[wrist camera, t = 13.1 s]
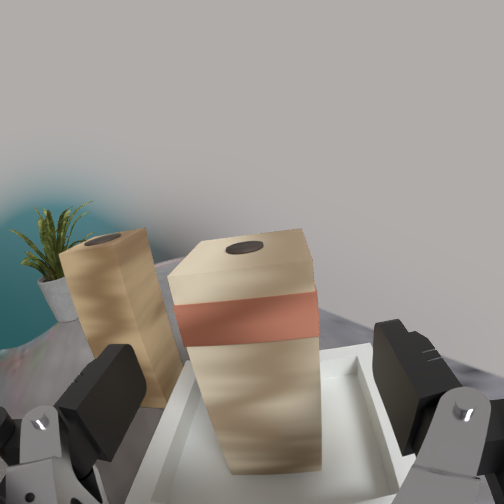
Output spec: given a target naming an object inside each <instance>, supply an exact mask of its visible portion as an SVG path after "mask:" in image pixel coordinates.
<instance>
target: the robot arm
mask: <svg viewBox="0 0 504 504" xmlns="http://www.w3.org/2000/svg"><path fill="white" fill-rule="evenodd" d="M372 371H373V377H374V381H375V384H376V386H377V389H378V391H379V394H380V396H381V399H382V402H383V404H384V407H385V410H386V412H387V415H388V418H389V421H390V423H391V426H392V429H393V432H394V435H395V437H396V440H397V443H398V446H399V449H400V452H401V455H402V457H404V456H407V455H411V454H415V456H416V460H415V462H414V464H413V465H412V466H411V468H410V470H409V472H408V474H407V476H406V478H405V480H404V482H403V483H402V485H401V487H400V489H399V491H398V493H397V494H396V496H395V498H394V500H393V501H392V503H391V504H474V503H475V500H476V497H477V494H478V491H479V487H480V478H478V477H476V476H479V475H485V477H486V480H487V482H488V485H489V487H490V490H491V493H492V496H493V498H494V501H495V504H504V399H499V400H489V399H488V398H487V396H486V395H485V394H484V393H482V392H481V391H479V390H477V389H474V388H470V387H462V385H461V384H460V382H459V381H458V379H457V378H456V376H455V375H454V374H453V372H452V371H451V369H450V368H449V367H448V365H447V364H446V362H445V361H444V360H443V358H441V356H440V354H439V353H438V351H437V350H435V347H434V346H433V345H432V343H431V342H430V341H429V340H428V338H426V337H425V336H423V335H421V334H419V333H418V332H416V331H414V332H408V331H407V329H406V328H405V327H404V325H403V324H402V322H401V321H400V320H399V319H395V320H389V321H384V322H378V323H376V324H375V327H374V341H373V358H372ZM146 390H147V385H146V379H145V377H144V374H143V372H142V369H141V367H140V364H139V362H138V359H137V357H136V354H135V351H134V349H133V347H132V346H131V345H130V344H109V345H108V346H107V347H106V348H105V349H104V350H103V351H102V353H101V354H100V355H99V356H98V357H97V358H96V359H95V360H93V361H92V362H90V363H89V364H88V365H87V366H86V367H85V368H84V369H83V370H82V372H81V373H80V375H78V376H77V378H76V379H75V380H74V382H73V383H72V384H71V385H70V386H69V387H68V389H67V390H66V391H65V392H64V394H63V395H62V396H61V397H60V398H59V400H58V401H57V402H56V403H55V405H54V406H49V405H42V406H38V407H36V408H34V409H32V410H30V411H29V412H28V413H27V414H26V415H25V416H24V418H23V419H11V417H10V416H9V414H8V413H7V411H6V410H5V408H3V407H0V456H1V458H2V459H3V460H4V461H5V462H6V463H7V465H8V467H7V469H6V475H5V477H4V478H3V480H2V481H1V483H0V504H109V502H108V499H107V496H106V493H105V490H104V487H103V484H102V480H101V477H100V474H99V470H98V468H97V466H96V465H95V464H94V463H95V462H96V460H97V459H100V460H104V461H108V462H111V461H112V459H113V457H114V455H115V453H116V451H117V449H118V447H119V445H120V443H121V441H122V439H123V437H124V436H125V434H126V432H127V430H128V428H129V426H130V424H131V422H132V420H133V418H134V416H135V414H136V412H137V410H138V408H139V407H140V405H141V403H142V401H143V399H144V397H145V395H146Z"/></svg>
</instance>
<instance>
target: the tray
mask: <svg viewBox="0 0 504 504" xmlns="http://www.w3.org/2000/svg"><path fill="white" fill-rule="evenodd" d="M319 356H320V379H321V415H322V471H314V472H303V473H291V474H272V475H232V474H231V472H230V469H229V467H228V464H227V462H226V459H225V457H224V454H223V452H222V449H221V447H220V444H219V442H218V439H217V436H216V434H215V431H214V428H213V426H212V423H211V420H210V417H209V415H208V412H207V409H206V406H205V403H204V400H203V397H202V394H201V392H200V389H199V386H198V382H197V379H196V376H195V373H194V370H193V367H192V364H191V361H186V362H185V365H184V367H183V369H182V371H181V374H180V376H179V378H178V380H177V383H176V385H175V387H174V389H173V392H172V394H171V396H170V398H169V401H168V403H167V405H166V408H165V410H164V412H163V414H162V417H161V419H160V421H159V424H158V426H157V428H156V431H155V433H154V435H153V438H152V440H151V442H150V444H149V447H148V449H147V451H146V454H145V456H144V458H143V461H142V463H141V465H140V468H139V470H138V473H137V475H136V477H135V480H134V482H133V484H132V487H131V489H130V492H129V494H128V496H127V499H126V501H125V503H124V504H391V503H392V501H393V500H394V498H395V496H396V494H397V493H398V491H399V489H400V487H401V485H402V483H403V482H404V480H405V478H406V476H407V474H408V472H409V470H410V468H411V466H412V465H413V464H414V462H415V460H416V456H415V454H411V455H407V456H404V457H402V455H401V452H400V449H399V446H398V443H397V440H396V437H395V435H394V432H393V429H392V426H391V423H390V421H389V418H388V415H387V412H386V410H385V407H384V404H383V402H382V399H381V396H380V394H379V391H378V389H377V386H376V384H375V381H374V377H373V371H372V358H373V348H372V346H371V344H370V343H366V344H360V345H354V346H348V347H341V348H334V349H327V350H320V351H319Z"/></svg>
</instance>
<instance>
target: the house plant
mask: <svg viewBox="0 0 504 504" xmlns="http://www.w3.org/2000/svg"><path fill="white" fill-rule="evenodd" d="M88 203H89V202H88ZM85 204H87V203H85ZM85 204H83V205H85ZM83 205H82V206H83ZM82 206H80V207H82ZM80 207H79V208H77V209H76V210H75V212H74V213H73V214H72V216H71V217H70V216H69V213H70V211H71V210H70V211H68V212H67V213H66V211H67V210H68V209H67V210H65V211H64V212H63V213H62V214H61V216H60V218H59V221H58V230H56V231H55V227H54V223H53V219H52V216H51V213H50V211H49V210H47V211H46V210H45V209H44V208H43V211H44V213H45V216H46V218H45V220H43V218H42V216H41V215H40V213H39V212H38V211H37V209H36V211H37V213H38V214H39V216H40V219H39V220H38V226H39V231H40V238H41V242H42V244H43V246H44V252H45V255H46V257H45V256H44V255H43V254H42V253H41V252H40V251H39V250H38V248H37V247H36V246H35V245H34V244H33V243H32V242H31V241H30V240H29V239H28V238H27V237H26V236H24V235H23V234H21V233H19V232H16V231H14V230H11V231H13V232H15V233H16V234H18V235H19V236H20V237H21V238H23V239H24V240H25V241H26V242H27V243H28V244H29V245H30V247H31V248H32V249H33V250H34V251H35V252H36V253H37V254H38V255H39V256H40V257H41V258H42V259H43V260H44V261H45V262H46V263H47V264H48V265H49V267H48V265H47V264H46V263H45V262H43V261H42V260H40V259H38V258H37V257H36V256H35V255H33V254H32V253H30V252H25V253H26V254H27V255H28V257H27V258H25V259H24V260H23V262H22V264H21V265H27V266H31V267H33V268H36V269H37V270H39V271H40V272H41V273H42V274H43V276H42V277H41V278H40V279H39V280H38V281H37V282H38V284H39V287H40V289H41V291H42V293H43V295H44V297H45V299H46V301H47V302H48V304H49V306H50V308H51V310H52V312H53V314H54V315H55V317H56V319H57V321H58V322H69V321H73V320H76V319H78V318H79V317H78V315H77V312H76V309H75V306H74V303H73V300H72V297H71V294H70V291H69V288H68V285H67V282H66V279H65V275H64V272H63V268H62V265H61V261H60V258H59V254H60V253H62V252H64V251H66V250H68V249H70V248H72V246H73V245H74V244H76V243H78V242H81V243H82V242H83V241H87V240H84V239H85V238H86V237H87V236H86V237H85V238H84V239H83V240H82V241H76V242H74V243H72V244H71V245H70V246H69V247H68V249H67V246H68V242H67V245H66V246H64V244H65V240H66V237H65V235H66V232H67V229H68V226H69V224H70V221H71V219H72V218H73V216H74V215H75V213H76V212H77V211H78V210H79V209H80ZM65 213H66V214H65ZM85 214H86V213H85ZM82 215H84V214H82ZM82 215H81V216H82ZM68 216H69V217H70V219H69V222H68V224H67V221H68V218H69V217H68ZM81 216H79V217H78V218H77V220H78V219H79V218H80V217H81ZM77 220H76V221H75V222H74V224H73V226H72V229H73V227H74V225H75V223H76V222H77ZM66 224H67V227H66ZM65 227H66V230H65ZM72 229H71V232H72ZM56 232H57V240H56V236H55V233H56ZM71 232H70V235H71ZM90 234H92V233H90ZM70 235H69V238H70ZM68 241H69V239H68ZM30 259H32V260H33V261H35V263H36V264H35V263H33V262H30V261H27V260H30ZM25 261H27V262H25ZM38 265H39V266H38ZM42 268H43V269H44V270H45V271H46V272H47V274H46V273H45V271H44V270H43V269H42Z"/></svg>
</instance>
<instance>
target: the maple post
mask: <svg viewBox="0 0 504 504" xmlns="http://www.w3.org/2000/svg"><path fill="white" fill-rule="evenodd" d="M167 277H168V281H169V285H170V289H171V293H172V297H173V301H174V305H173V309H174V312H175V316H176V320H177V323H178V327H179V330H180V334H181V337H182V341H183V344H184V347H187V351H188V354H189V357H190V361H191V364H192V367H193V370H194V373H195V376H196V379H197V382H198V386H199V389H200V392H201V394H202V397H203V400H204V403H205V406H206V409H207V412H208V415H209V417H210V420H211V423H212V426H213V428H214V431H215V434H216V436H217V439H218V442H219V444H220V447H221V449H222V452H223V454H224V457H225V459H226V462H227V464H228V467H229V469H230V472H231V474H232V475H272V474H291V473H303V472H314V471H322V415H321V379H320V356H319V338H318V336H320V327H319V311H318V298H317V290H316V286H315V283H314V272H313V260H312V257H311V254H310V251H309V248H308V246H307V242H306V240H305V237H304V234H303V231H302V229H292V230H284V231H276V232H269V233H260V234H252V235H245V236H237V237H230V238H222V239H216V240H207V241H201V242H200V243H199V244H198V245H197V246H196V247H195V248H194V249H193V250H192V251H191V252H190V253H189V254H188V255H187V256H186V257H185V259H184V260H183V261H182V262H181V263H180V264H179V265H178V266H177V267H176V268H175V269H174V270H173V271H172V272H171V273H170V274H169V275H168V276H167Z"/></svg>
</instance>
